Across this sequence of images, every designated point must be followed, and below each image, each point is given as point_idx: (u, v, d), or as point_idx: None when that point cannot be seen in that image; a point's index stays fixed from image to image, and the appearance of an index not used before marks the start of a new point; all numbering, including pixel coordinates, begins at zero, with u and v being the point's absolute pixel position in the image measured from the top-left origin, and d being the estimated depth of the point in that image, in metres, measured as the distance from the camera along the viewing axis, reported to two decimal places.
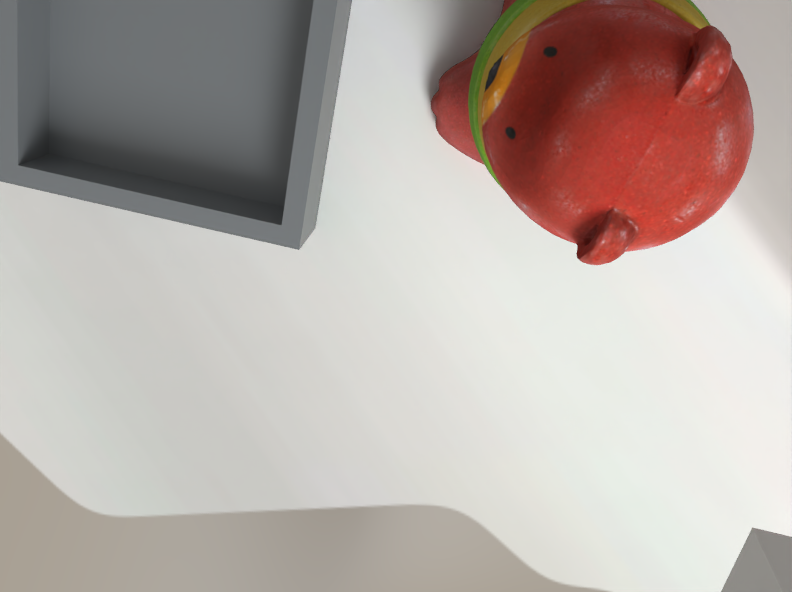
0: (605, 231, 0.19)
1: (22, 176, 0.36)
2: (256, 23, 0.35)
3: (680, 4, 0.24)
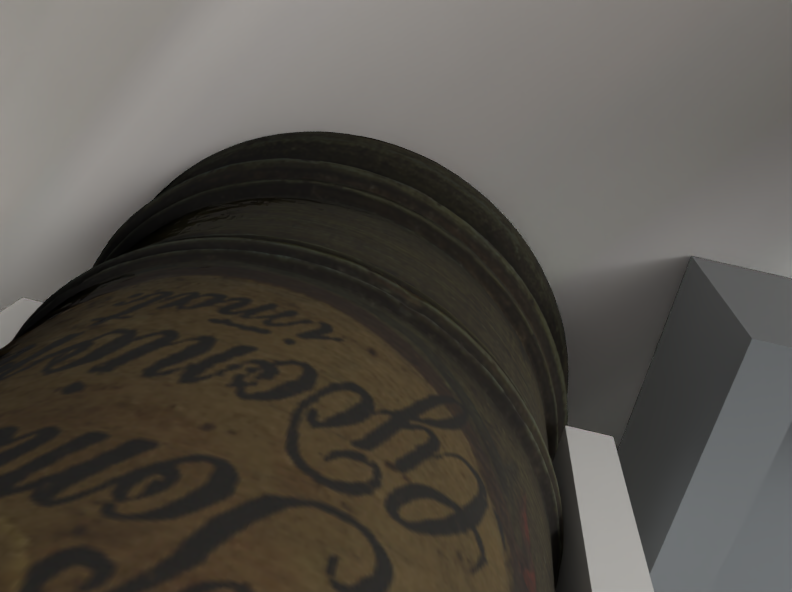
0: None
1: None
2: None
3: None
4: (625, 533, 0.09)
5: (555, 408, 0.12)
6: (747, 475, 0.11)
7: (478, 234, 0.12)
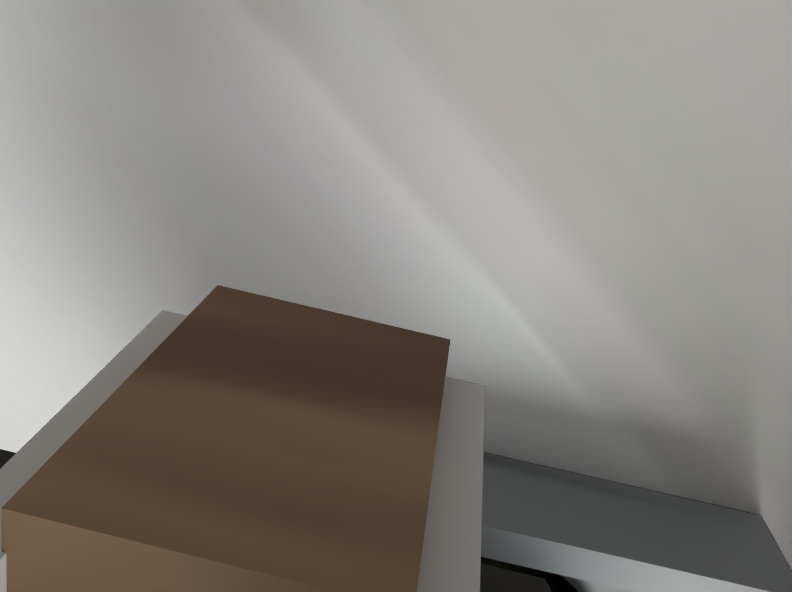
0: None
1: None
2: None
3: None
4: (469, 465, 0.10)
5: None
6: None
7: None
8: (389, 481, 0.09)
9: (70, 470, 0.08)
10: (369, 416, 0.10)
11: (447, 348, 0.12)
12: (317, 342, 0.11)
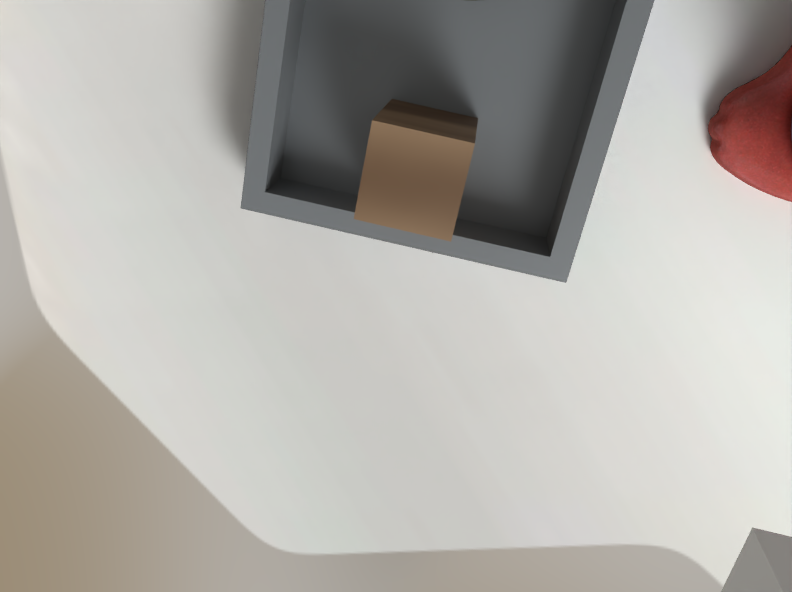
0: None
1: (268, 203, 0.34)
2: (529, 41, 0.32)
3: None
4: None
5: None
6: None
7: None
8: (464, 132, 0.30)
9: (382, 118, 0.29)
10: (455, 124, 0.31)
11: (477, 119, 0.34)
12: (432, 112, 0.33)
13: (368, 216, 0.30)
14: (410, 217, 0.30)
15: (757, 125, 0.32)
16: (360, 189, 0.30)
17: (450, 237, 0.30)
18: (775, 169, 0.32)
